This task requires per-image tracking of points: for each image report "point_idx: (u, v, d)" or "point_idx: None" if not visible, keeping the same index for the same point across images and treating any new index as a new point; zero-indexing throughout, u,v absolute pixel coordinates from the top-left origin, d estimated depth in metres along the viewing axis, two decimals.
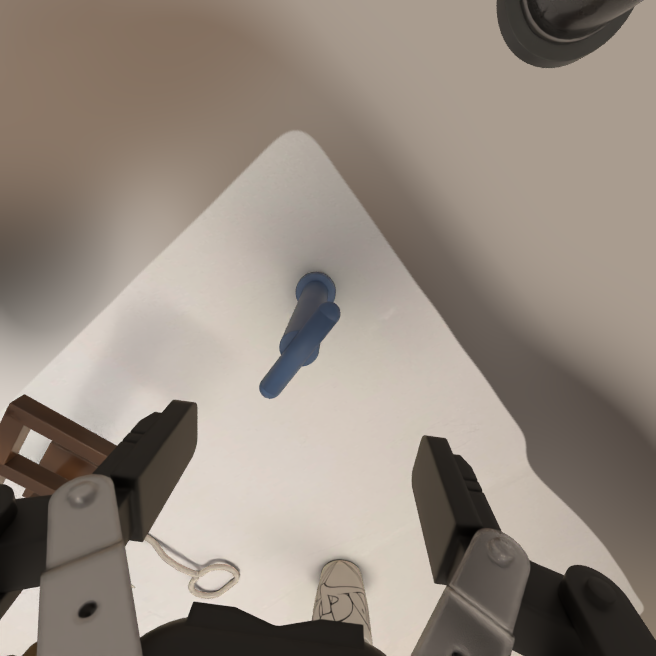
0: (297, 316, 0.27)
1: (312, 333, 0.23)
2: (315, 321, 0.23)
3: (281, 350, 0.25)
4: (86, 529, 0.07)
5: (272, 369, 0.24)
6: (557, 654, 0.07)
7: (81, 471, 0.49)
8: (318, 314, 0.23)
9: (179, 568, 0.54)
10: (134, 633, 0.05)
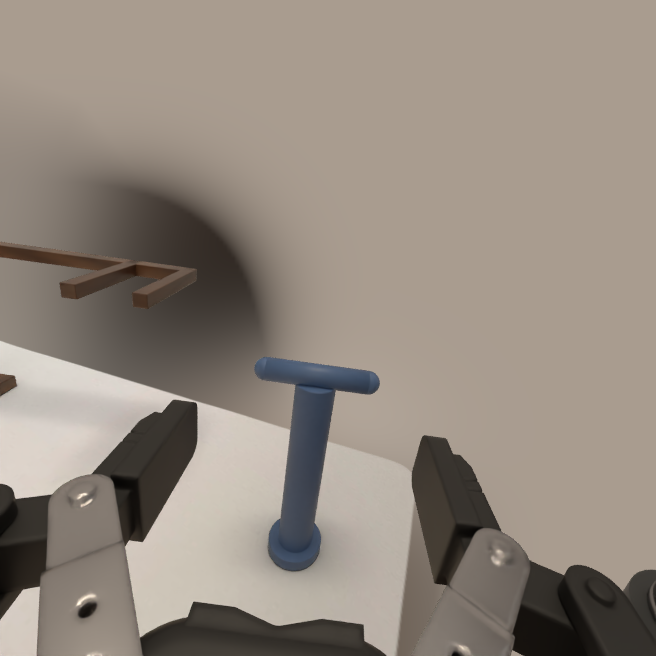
0: None
1: (348, 368, 0.24)
2: (358, 370, 0.24)
3: None
4: (86, 529, 0.07)
5: None
6: (557, 654, 0.07)
7: None
8: None
9: None
10: (134, 633, 0.05)
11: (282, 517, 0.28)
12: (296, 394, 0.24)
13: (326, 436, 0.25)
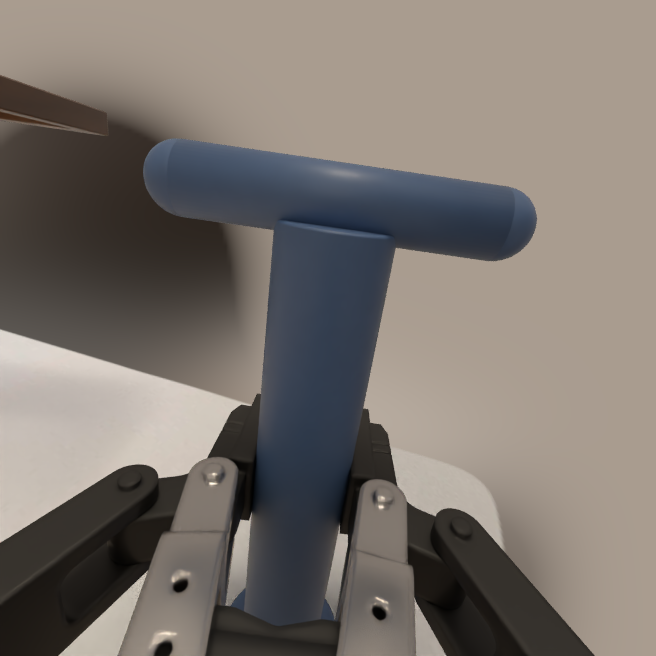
0: None
1: None
2: None
3: None
4: (206, 507, 0.08)
5: None
6: (426, 584, 0.08)
7: None
8: None
9: None
10: (205, 631, 0.05)
11: (247, 599, 0.12)
12: (275, 256, 0.08)
13: (362, 394, 0.09)
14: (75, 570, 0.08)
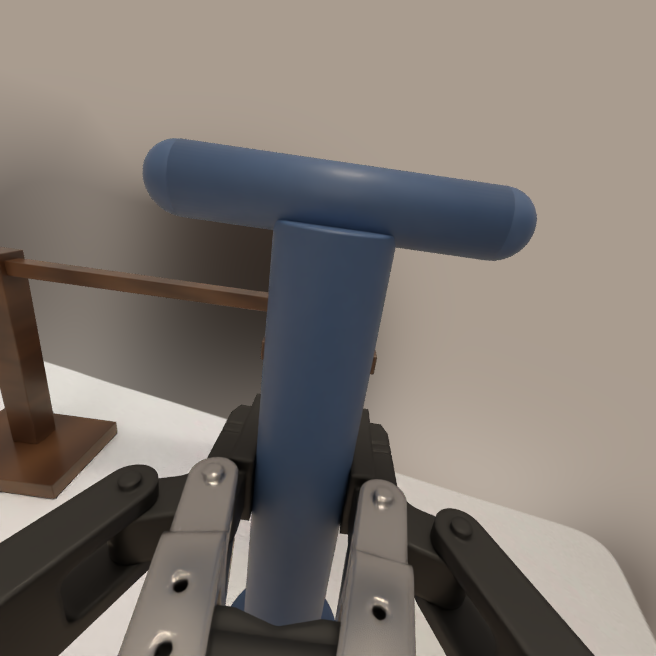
0: None
1: None
2: None
3: None
4: (206, 507, 0.08)
5: None
6: (426, 584, 0.08)
7: (60, 452, 0.33)
8: None
9: None
10: (205, 631, 0.05)
11: (247, 599, 0.12)
12: (275, 256, 0.08)
13: (362, 394, 0.09)
14: (75, 570, 0.08)
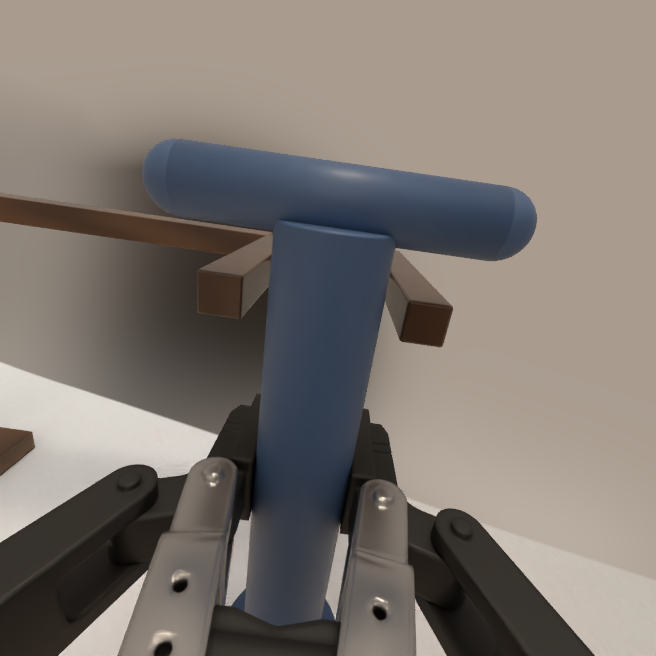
0: None
1: None
2: None
3: None
4: (206, 507, 0.08)
5: None
6: (426, 584, 0.08)
7: None
8: None
9: None
10: (205, 631, 0.05)
11: (247, 600, 0.12)
12: (274, 256, 0.08)
13: (362, 395, 0.09)
14: (74, 570, 0.08)
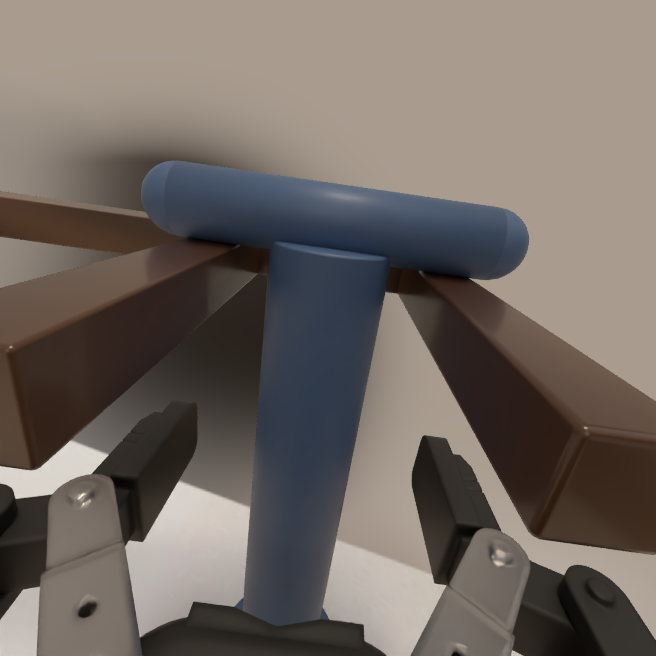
0: None
1: None
2: None
3: None
4: (86, 529, 0.07)
5: None
6: (557, 654, 0.07)
7: None
8: None
9: None
10: (134, 633, 0.05)
11: (245, 610, 0.12)
12: (271, 276, 0.08)
13: (358, 410, 0.09)
14: None
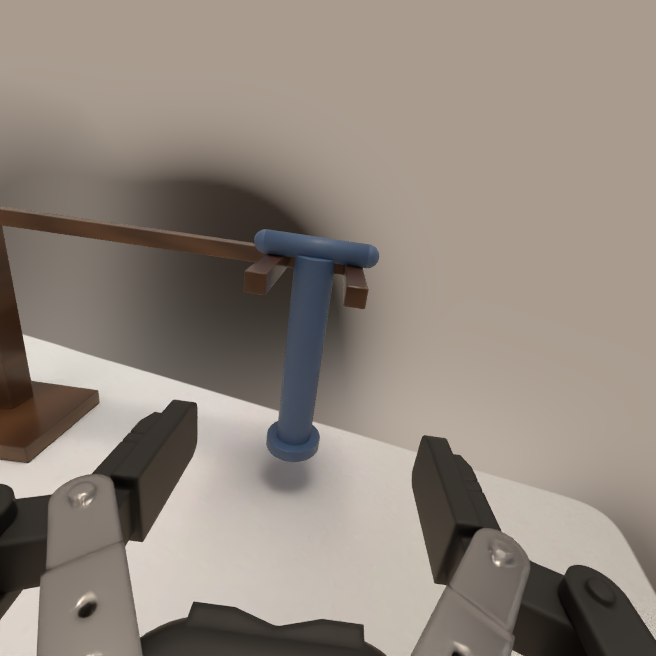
0: None
1: (347, 241, 0.24)
2: None
3: None
4: (86, 529, 0.07)
5: None
6: (557, 654, 0.07)
7: (37, 417, 0.31)
8: None
9: None
10: (134, 633, 0.05)
11: (281, 408, 0.28)
12: (295, 266, 0.24)
13: (325, 314, 0.25)
14: None
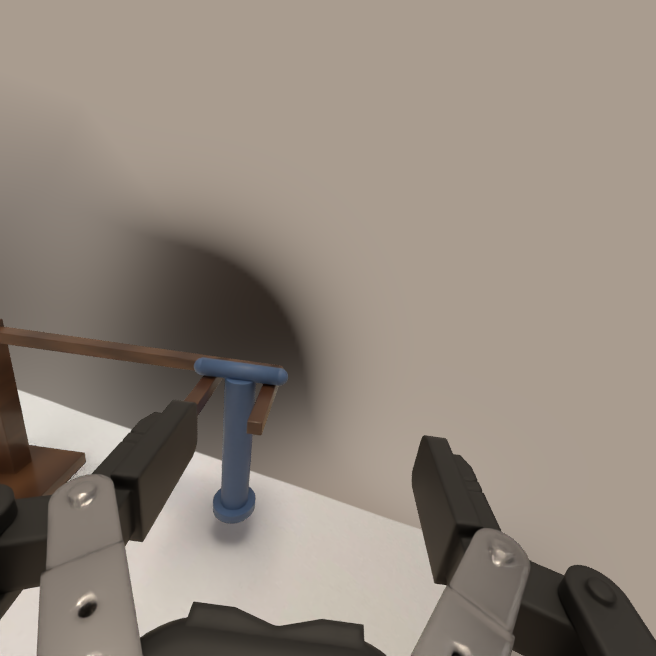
0: None
1: (263, 366, 0.32)
2: (272, 367, 0.32)
3: None
4: (86, 529, 0.07)
5: None
6: (557, 654, 0.07)
7: (34, 482, 0.40)
8: None
9: None
10: (134, 633, 0.05)
11: (222, 482, 0.36)
12: (225, 385, 0.32)
13: None
14: None
